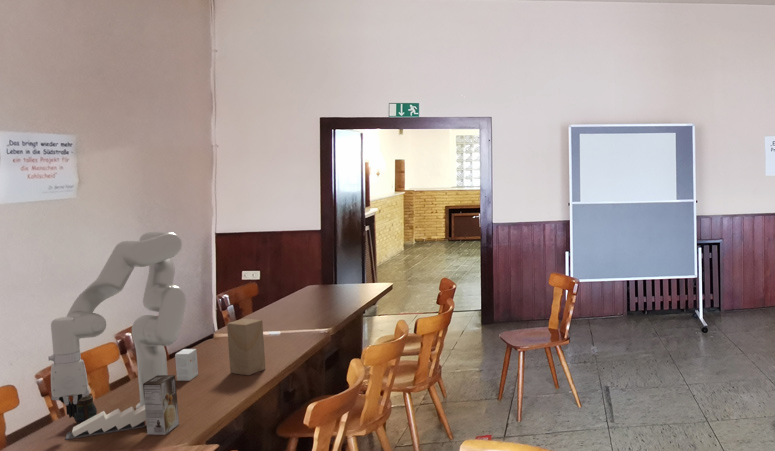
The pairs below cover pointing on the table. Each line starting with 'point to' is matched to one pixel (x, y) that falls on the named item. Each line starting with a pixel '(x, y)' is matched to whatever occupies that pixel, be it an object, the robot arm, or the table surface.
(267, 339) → the table surface
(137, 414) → the domino
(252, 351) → the wooden block
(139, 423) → the domino
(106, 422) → the domino
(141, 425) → the mat
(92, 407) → the mate gourd
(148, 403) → the coffee box
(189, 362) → the small box
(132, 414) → the domino
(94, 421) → the domino
